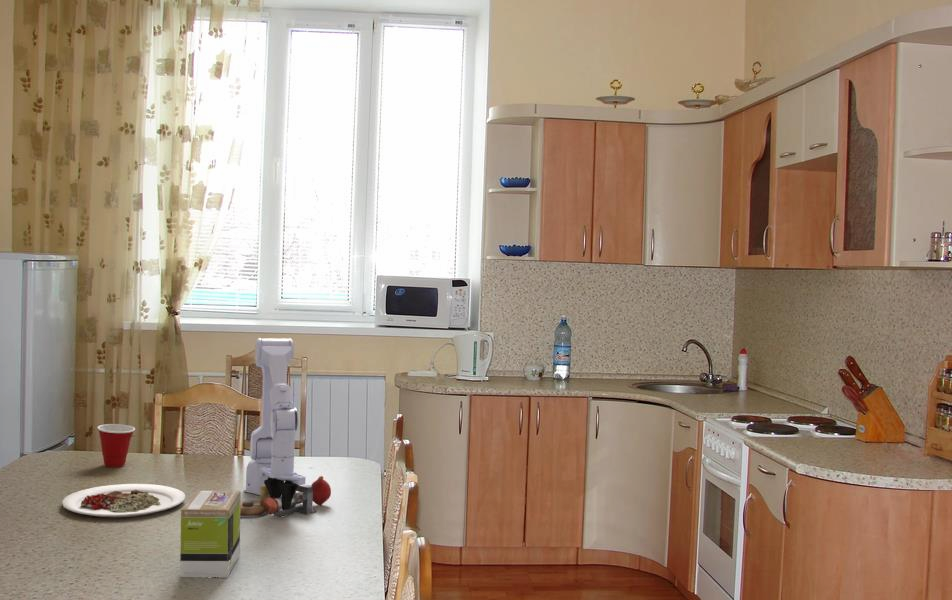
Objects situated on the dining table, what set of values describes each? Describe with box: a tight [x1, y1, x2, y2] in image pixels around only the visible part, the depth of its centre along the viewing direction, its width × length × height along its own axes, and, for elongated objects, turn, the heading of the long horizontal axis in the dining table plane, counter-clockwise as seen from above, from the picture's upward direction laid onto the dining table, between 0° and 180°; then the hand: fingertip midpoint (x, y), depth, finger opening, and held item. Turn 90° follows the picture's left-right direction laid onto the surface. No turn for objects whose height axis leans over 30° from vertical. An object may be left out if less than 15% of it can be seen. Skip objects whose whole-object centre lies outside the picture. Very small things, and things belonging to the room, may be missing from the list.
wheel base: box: [240, 512, 268, 519], centre depth 237 cm, size 12×12×1 cm
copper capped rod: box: [263, 491, 303, 515], centre depth 236 cm, size 4×13×4 cm, turn 147°
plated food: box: [61, 483, 186, 518], centre depth 238 cm, size 30×30×3 cm
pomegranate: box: [310, 475, 332, 506], centre depth 245 cm, size 6×6×8 cm
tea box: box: [179, 490, 241, 579], centre depth 195 cm, size 15×10×15 cm
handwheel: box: [240, 485, 270, 515], centre depth 236 cm, size 10×10×6 cm
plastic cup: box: [96, 423, 136, 468], centre depth 279 cm, size 11×11×12 cm
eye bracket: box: [273, 483, 317, 518], centre depth 237 cm, size 9×10×7 cm
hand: (280, 507), depth 234 cm, fingers closed on copper capped rod, 3 cm apart
